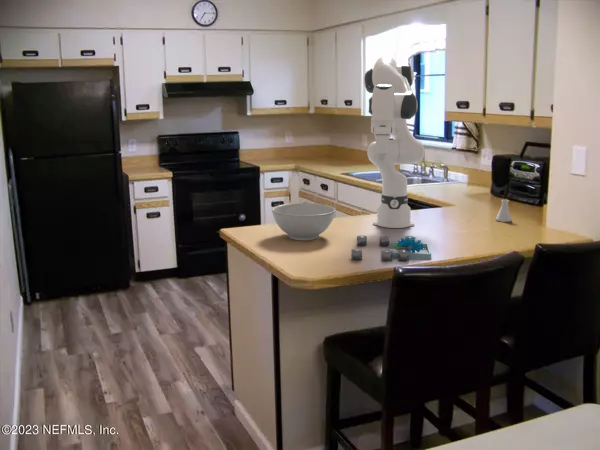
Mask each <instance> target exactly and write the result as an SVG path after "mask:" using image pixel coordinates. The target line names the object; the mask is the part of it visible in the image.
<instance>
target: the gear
mask: <svg viewBox="0 0 600 450" xmlns="http://www.w3.org/2000/svg"><path fill="white" fill-rule="evenodd" d="M405 237H406V236H405ZM397 243H398V244H397ZM397 243H395V245H394V247H396V248H395V249H396V252H398V250H408V251H409V253H421V250H422V251H423V250H424V249H423V246H424V244H423V242H422V240H419V239H417V241H416V237H415V238H412V240H410V239H409V237H406V239H405V238H403V237H401V238H400V240H397Z"/></svg>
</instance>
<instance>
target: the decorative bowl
mask: <svg viewBox="0 0 600 450" xmlns="http://www.w3.org/2000/svg"><path fill="white" fill-rule="evenodd" d="M336 211H337V210H336V208H335V207H333V206H330V205H327V204H321V203H307V202H305V203H304V202H300V203H296V202H295V203H286V204H281V205H280V204H279V205H276V206H274V207H273V208H271V213H272V217H273V219H274V222H275V224H276V225H277V226H278V227H279V228H280V230H281V231H283V232H284V233H285V234H287V235H288V236H289V237H288V238H290V239H292V240H294V239H295V240H294V241H312V240H316V239H318V238H319V235H321V234H322V233H324V232H325V231H326V230H327V229H328V228H329V226H331V224H332V222H333V220H334V219H335V214H336Z"/></svg>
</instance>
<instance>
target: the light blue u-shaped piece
mask: <svg viewBox="0 0 600 450" xmlns="http://www.w3.org/2000/svg"><path fill="white" fill-rule="evenodd" d="M395 243H397V244H398V241H395V242H393V241H389V248H390V249H392V248H393V249H394V248H395V249H396V247H394V245H395ZM422 243H423V242H422ZM423 244H424V246H423V248H424V249H423V250H426V252H415V253H412V252H411V253H409V259H413V260H414V259H417V260H431V259H432V252H431V247H430V244H429V243H427V242H426V243H423ZM425 248H426V249H425ZM427 252H428V253H427ZM430 258H431V259H430ZM392 259H398V252H397V251H393V253H392Z"/></svg>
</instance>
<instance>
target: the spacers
mask: <svg viewBox="0 0 600 450" xmlns="http://www.w3.org/2000/svg"><path fill="white" fill-rule="evenodd" d="M406 237H409V239H410V240H412V238H415V239H416V237H415V236H413V235H407V236H404V239H406ZM378 239H379V243H378V245H379V246H380V247H382V248H383V247H384V248H388V247H390V242H391V241H390V239H391V237H390V236H388V235H380V236H379V238H378ZM356 246H357V247H366V246H368V236H367V235H362V234H361V235H357V236H356ZM393 252H394V251H393V250H391V249H382V250H381V255H380V256H381V257H380V260H381V262H385V263H388V262H393V258H392V253H393ZM350 254H351V257H350V258H351V261H356V262H357V261H362V260H363V249H362V248H352V249H351V253H350ZM409 259H410V258H409V251H408V250H398V258H397V261H398V262H405V263H406V262H409Z"/></svg>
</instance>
